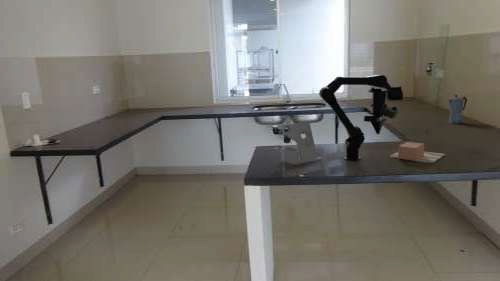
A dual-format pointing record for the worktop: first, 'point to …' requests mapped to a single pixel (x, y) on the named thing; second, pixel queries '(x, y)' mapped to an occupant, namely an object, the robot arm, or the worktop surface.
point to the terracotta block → (411, 151)
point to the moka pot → (456, 109)
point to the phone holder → (300, 144)
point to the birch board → (424, 157)
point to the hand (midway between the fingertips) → (378, 134)
